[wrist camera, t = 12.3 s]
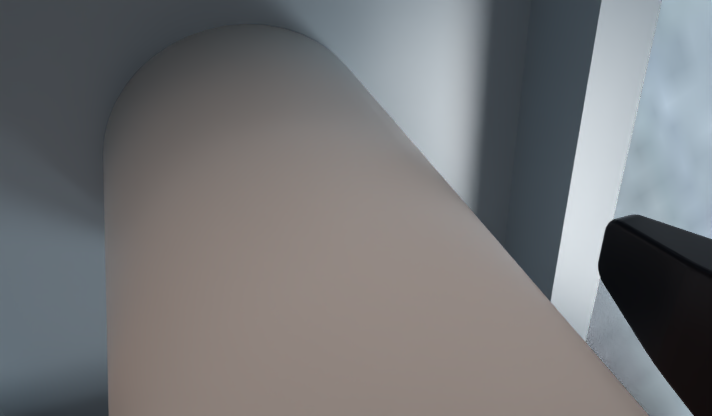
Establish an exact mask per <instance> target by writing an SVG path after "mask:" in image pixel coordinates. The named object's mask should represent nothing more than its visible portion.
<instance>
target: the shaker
mask: <svg viewBox="0 0 712 416" xmlns="http://www.w3.org/2000/svg"><path fill="white" fill-rule="evenodd" d="M103 173H104V220H105V267H106V314H107V362H108V409H109V416H649V415H648V414H647V413H646V412H645V411H644V409H643V408H642V407H641V406H640V405H639V404H638V402H637V401H636V400H635V399H634V398H633V397H632V395H631V394H630V393H629V392H628V391H627V390H626V389H625V387H624V386H623V385H622V384H621V383H620V382H619V380H618V379H617V378H616V377H615V376H614V375H613V374H612V372H611V371H610V370H609V369H608V368H607V367H606V365H605V364H604V363H603V362H602V361H601V360H600V359H599V357H598V356H597V355H596V354H595V353H594V352H593V350H592V349H591V348H590V347H589V346H588V345H587V343H586V342H585V341H584V340H583V339H582V338H581V337H580V335H579V334H578V333H577V332H576V331H575V330H574V328H573V327H572V326H571V325H570V324H569V323H568V322H567V320H566V319H565V318H564V317H563V316H562V315H561V313H560V312H559V311H558V310H557V309H556V308H555V306H554V305H553V304H552V303H551V302H550V301H549V300H548V298H547V297H546V296H545V295H544V294H543V293H542V291H541V290H540V289H539V288H538V287H537V286H536V285H535V283H534V282H533V281H532V280H531V279H530V278H529V276H528V275H527V274H526V273H525V272H524V271H523V269H522V268H521V267H520V266H519V265H518V264H517V263H516V261H515V260H514V259H513V258H512V257H511V256H510V254H509V253H508V252H507V251H506V250H505V249H504V248H503V246H502V245H501V244H500V243H499V242H498V241H497V239H496V238H495V237H494V236H493V235H492V234H491V233H490V231H489V230H488V229H487V228H486V227H485V226H484V224H483V223H482V222H481V221H480V220H479V219H478V217H477V216H476V215H475V214H474V213H473V212H472V211H471V209H470V208H469V207H468V206H467V205H466V204H465V202H464V201H463V200H462V199H461V198H460V197H459V196H458V194H457V193H456V192H455V191H454V190H453V189H452V187H451V186H450V185H449V184H448V183H447V182H446V180H445V179H444V178H443V177H442V176H441V175H440V174H439V172H438V171H437V170H436V169H435V168H434V167H433V165H432V164H431V163H430V162H429V161H428V160H427V159H426V157H425V156H424V155H423V154H422V153H421V152H420V150H419V149H418V148H417V147H416V146H415V145H414V144H413V142H412V141H411V140H410V139H409V138H408V137H407V135H406V134H405V133H404V132H403V131H402V130H401V128H400V127H399V126H398V125H397V124H396V123H395V122H394V120H393V119H392V118H391V117H390V116H389V115H388V113H387V112H386V111H385V110H384V109H383V108H382V107H381V105H380V104H379V103H378V102H377V101H376V100H375V98H374V97H373V96H372V95H371V94H370V93H369V91H368V90H367V89H366V88H365V87H364V86H363V85H362V83H361V82H360V81H359V80H358V79H357V78H356V76H355V75H354V74H353V73H352V72H351V71H350V70H349V68H348V67H347V66H346V65H345V64H344V63H343V62H342V61H341V60H340V59H339V58H338V57H337V56H336V55H335V54H333V53H332V52H331V51H330V50H328V49H327V48H325V47H324V46H322V45H321V44H319V43H318V42H316V41H314V40H312V39H310V38H308V37H306V36H304V35H302V34H299V33H296V32H293V31H290V30H287V29H284V28H279V27H273V26H268V25H255V24H240V25H228V26H222V27H217V28H213V29H208V30H204V31H202V32H199V33H196V34H193V35H190V36H188V37H185V38H183V39H182V40H180V41H178V42H176V43H174V44H172V45H170V46H168V47H167V48H165V49H164V50H162V51H161V52H159V53H158V54H157V55H155V56H154V57H152V58H151V59H150V60H149V61H148V62H147V63H146V64H145V65H144V66H142V67H141V68H140V69H139V70H138V71H137V72H136V74H135V75H134V76H133V77H132V78H131V80H130V81H129V82H128V83H127V85H126V86H125V87H124V89H123V91H122V92H121V94H120V96H119V97H118V99H117V101H116V103H115V105H114V107H113V110H112V112H111V114H110V117H109V120H108V124H107V128H106V132H105V137H104V148H103Z"/></svg>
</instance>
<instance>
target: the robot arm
mask: <svg viewBox="0 0 712 416" xmlns="http://www.w3.org/2000/svg"><path fill="white" fill-rule="evenodd" d="M598 271H599V275H600V278H601V280H602V282H603V284H604V285H605V287H606V288H607V290H608V292H609V293H610V295H611V296H612V298H613V300H614V301H615V303H616V304H617V306H618V308H619V309H620V311H621V312H622V314H623V316H624V317H625V319H626V320H627V322H628V324H629V325H630V327H631V328H632V330H633V332H634V333H635V335H636V336H637V338H638V340H639V341H640V343H641V344H642V346H643V348H644V349H645V351H646V352H647V354H648V355H649V357H650V358H651V360H652V361H653V363H654V364H655V366H656V367H657V368H658V370H659V371H660V372H661V374H662V375H663V377H664V378H665V379H666V381H667V382H668V383H669V384H670V386H671V387H672V388H673V390H674V391H675V392H676V393H677V395H678V396H679V397H680V399H681V400H682V401H683V403H684V404H685V405H686V406H687V408H688V409H689V410H690V412H691V413H692V414H693V415H694V416H712V239H709V238H706V237H704V236H701V235H698V234H695V233H692V232H689V231H686V230H683V229H680V228H677V227H674V226H671V225H668V224H665V223H662V222H659V221H656V220H653V219H650V218H647V217H644V216H641V215H629V216H625V217H621V218H617V219H614V220H612V221H610V222H609V223H608V225H607V226H606V228H605V232H604V237H603V242H602V246H601V251H600V255H599V260H598Z"/></svg>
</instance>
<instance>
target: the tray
mask: <svg viewBox="0 0 712 416" xmlns="http://www.w3.org/2000/svg"><path fill="white" fill-rule="evenodd" d="M661 2H662V0H0V416H109V409H108V362H107V314H106V267H105V220H104V173H103V148H104V137H105V132H106V128H107V124H108V120H109V117H110V114H111V112H112V110H113V107H114V105H115V103H116V101H117V99H118V97H119V96H120V94H121V92H122V91H123V89H124V87H125V86H126V85H127V83H128V82H129V81H130V80H131V78H132V77H133V76H134V75H135V74H136V72H137V71H138V70H139V69H140V68H141V67H142V66H144V65H145V64H146V63H147V62H148V61H149V60H150V59H151V58H152V57H154V56H155V55H157V54H158V53H159V52H161V51H162V50H164V49H165V48H167V47H168V46H170V45H172V44H174V43H176V42H178V41H180V40H182V39H183V38H185V37H188V36H190V35H193V34H196V33H199V32H202V31H204V30H208V29H213V28H217V27H222V26H228V25H240V24H255V25H268V26H273V27H279V28H284V29H287V30H290V31H293V32H296V33H299V34H302V35H304V36H306V37H308V38H310V39H312V40H314V41H316V42H318V43H319V44H321V45H322V46H324V47H325V48H327V49H328V50H330V51H331V52H332V53H333V54H335V55H336V56H337V57H338V58H339V59H340V60H341V61H342V62H343V63H344V64H345V65H346V66H347V67H348V68H349V70H350V71H351V72H352V73H353V74H354V75H355V76H356V78H357V79H358V80H359V81H360V82H361V83H362V85H363V86H364V87H365V88H366V89H367V90H368V91H369V93H370V94H371V95H372V96H373V97H374V98H375V100H376V101H377V102H378V103H379V104H380V105H381V107H382V108H383V109H384V110H385V111H386V112H387V113H388V115H389V116H390V117H391V118H392V119H393V120H394V122H395V123H396V124H397V125H398V126H399V127H400V128H401V130H402V131H403V132H404V133H405V134H406V135H407V137H408V138H409V139H410V140H411V141H412V142H413V144H414V145H415V146H416V147H417V148H418V149H419V150H420V152H421V153H422V154H423V155H424V156H425V157H426V159H427V160H428V161H429V162H430V163H431V164H432V165H433V167H434V168H435V169H436V170H437V171H438V172H439V174H440V175H441V176H442V177H443V178H444V179H445V180H446V182H447V183H448V184H449V185H450V186H451V187H452V189H453V190H454V191H455V192H456V193H457V194H458V196H459V197H460V198H461V199H462V200H463V201H464V202H465V204H466V205H467V206H468V207H469V208H470V209H471V211H472V212H473V213H474V214H475V215H476V216H477V217H478V219H479V220H480V221H481V222H482V223H483V224H484V226H485V227H486V228H487V229H488V230H489V231H490V233H491V234H492V235H493V236H494V237H495V238H496V239H497V241H498V242H499V243H500V244H501V245H502V246H503V248H504V249H505V250H506V251H507V252H508V253H509V254H510V256H511V257H512V258H513V259H514V260H515V261H516V263H517V264H518V265H519V266H520V267H521V268H522V269H523V271H524V272H525V273H526V274H527V275H528V276H529V278H530V279H531V280H532V281H533V282H534V283H535V285H536V286H537V287H538V288H539V289H540V290H541V291H542V293H543V294H544V295H545V296H546V297H547V298H548V300H549V301H550V302H551V303H552V304H553V305H554V306H555V308H556V309H557V310H558V311H559V312H560V313H561V315H562V316H563V317H564V318H565V319H566V320H567V322H568V323H569V324H570V325H571V326H572V327H573V328H574V330H575V331H576V332H577V333H578V334H579V335H580V337H581V338H582V339H583V340H584V341H585V342H586V338H587V334H588V329H589V325H590V320H591V316H592V312H593V307H594V303H595V298H596V294H597V289H598V285H599V280H600V275H599V271H598V260H599V255H600V251H601V246H602V242H603V237H604V232H605V228H606V226H607V225H608V223H609V222H610V221H612V220H613V217H614V213H615V208H616V204H617V200H618V195H619V191H620V186H621V182H622V177H623V173H624V168H625V164H626V159H627V155H628V150H629V146H630V141H631V137H632V132H633V128H634V123H635V119H636V114H637V110H638V105H639V101H640V97H641V92H642V88H643V83H644V79H645V74H646V70H647V65H648V61H649V56H650V52H651V47H652V43H653V38H654V34H655V29H656V25H657V20H658V16H659V11H660V7H661Z"/></svg>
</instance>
